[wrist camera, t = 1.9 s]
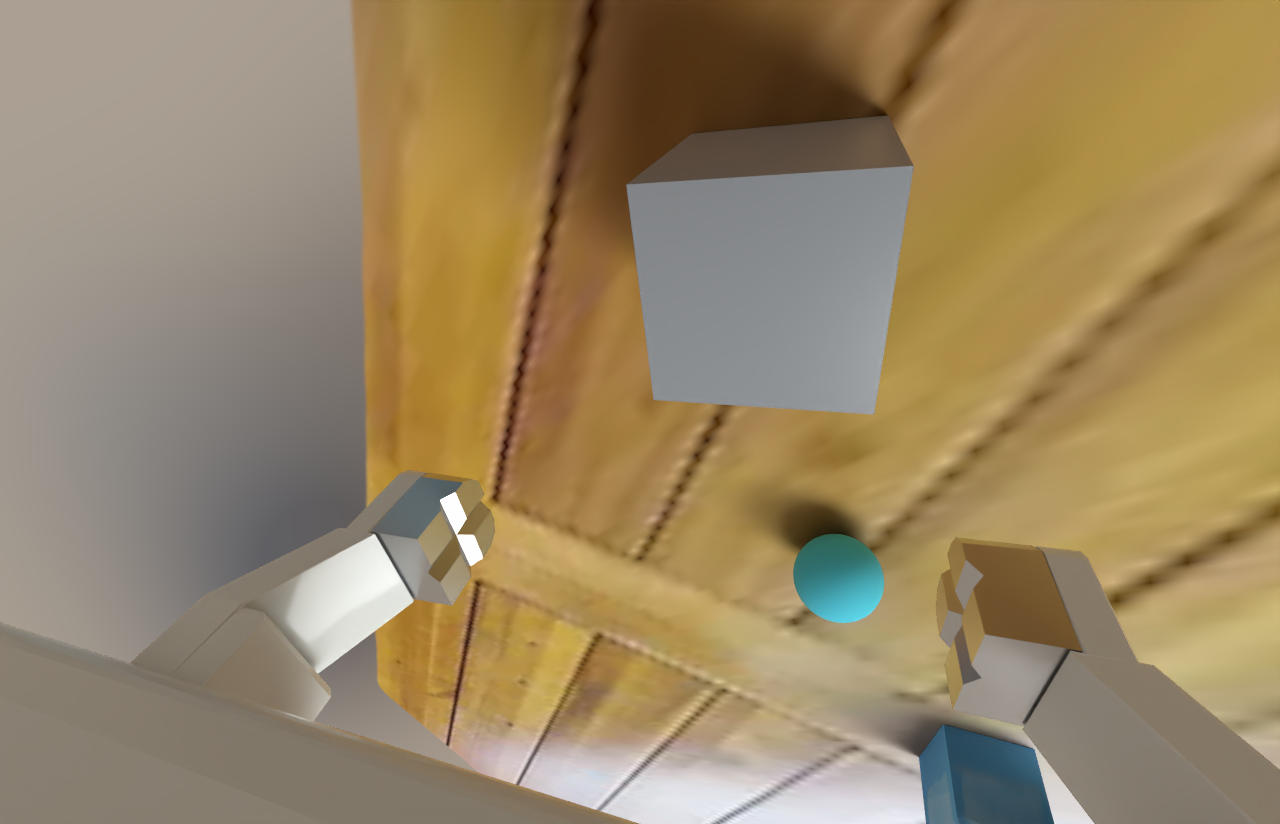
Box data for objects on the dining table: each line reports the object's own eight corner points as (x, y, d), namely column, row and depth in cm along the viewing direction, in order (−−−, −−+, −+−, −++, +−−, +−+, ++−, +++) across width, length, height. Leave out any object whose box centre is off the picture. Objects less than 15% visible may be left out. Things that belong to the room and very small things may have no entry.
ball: (886, 522, 31) (893, 593, 27) (875, 576, 34) (880, 648, 30) (797, 511, 32) (792, 577, 29) (794, 564, 35) (788, 631, 31)
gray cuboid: (887, 115, 20) (913, 166, 13) (864, 302, 24) (874, 414, 17) (691, 133, 22) (626, 184, 15) (701, 301, 26) (653, 399, 19)
